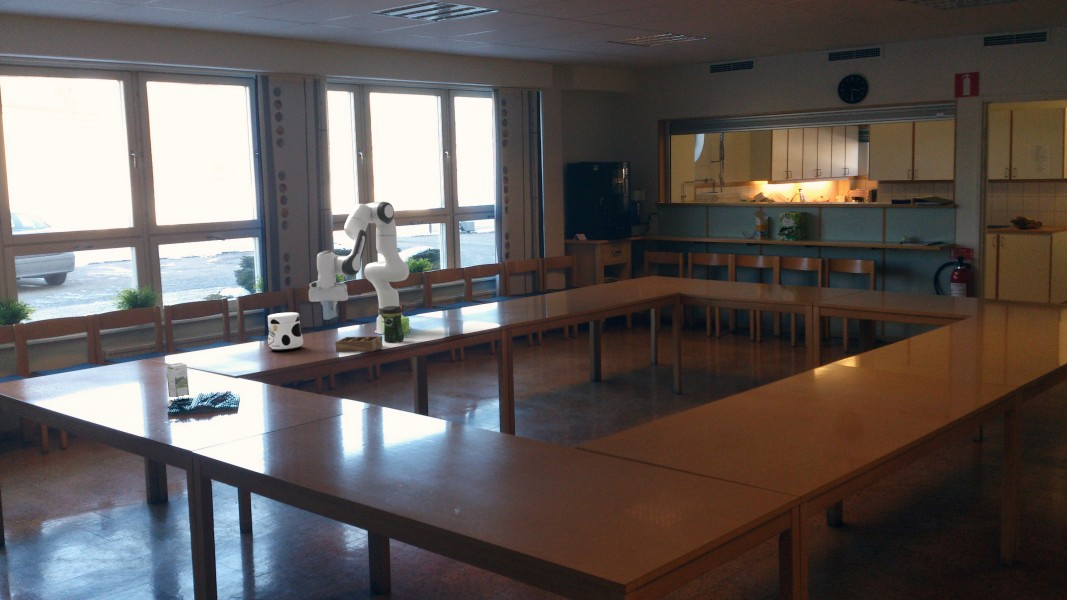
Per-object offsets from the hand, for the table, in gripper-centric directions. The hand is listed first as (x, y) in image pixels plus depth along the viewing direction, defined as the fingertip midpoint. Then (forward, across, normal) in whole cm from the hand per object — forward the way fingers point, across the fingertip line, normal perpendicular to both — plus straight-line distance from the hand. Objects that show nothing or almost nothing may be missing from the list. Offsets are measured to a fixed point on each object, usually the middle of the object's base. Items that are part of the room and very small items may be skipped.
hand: (329, 309), depth 483 cm
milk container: (+19, +22, +7) cm, 30 cm away
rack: (+19, -18, +8) cm, 27 cm away
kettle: (+19, -24, -28) cm, 41 cm away
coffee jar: (+19, -29, -12) cm, 37 cm away
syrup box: (+19, +16, +113) cm, 116 cm away
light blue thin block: (+4, 0, 0) cm, 4 cm away
